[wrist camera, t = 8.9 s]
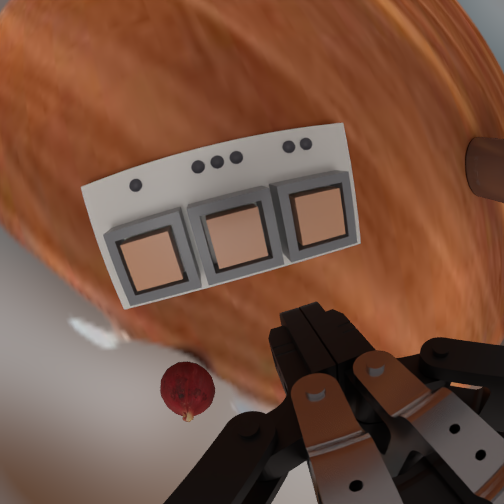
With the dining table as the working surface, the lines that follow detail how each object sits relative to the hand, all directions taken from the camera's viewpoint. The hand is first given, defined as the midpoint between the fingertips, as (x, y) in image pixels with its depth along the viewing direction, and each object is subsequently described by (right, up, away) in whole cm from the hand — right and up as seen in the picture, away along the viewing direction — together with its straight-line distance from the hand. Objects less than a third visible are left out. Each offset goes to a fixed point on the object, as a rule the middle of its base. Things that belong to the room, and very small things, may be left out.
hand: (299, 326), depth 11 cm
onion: (-9, -10, +19) cm, 24 cm away
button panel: (-4, +7, +15) cm, 17 cm away
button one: (-10, +3, +12) cm, 16 cm away
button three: (-3, +5, +13) cm, 14 cm away
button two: (+3, +6, +14) cm, 15 cm away
